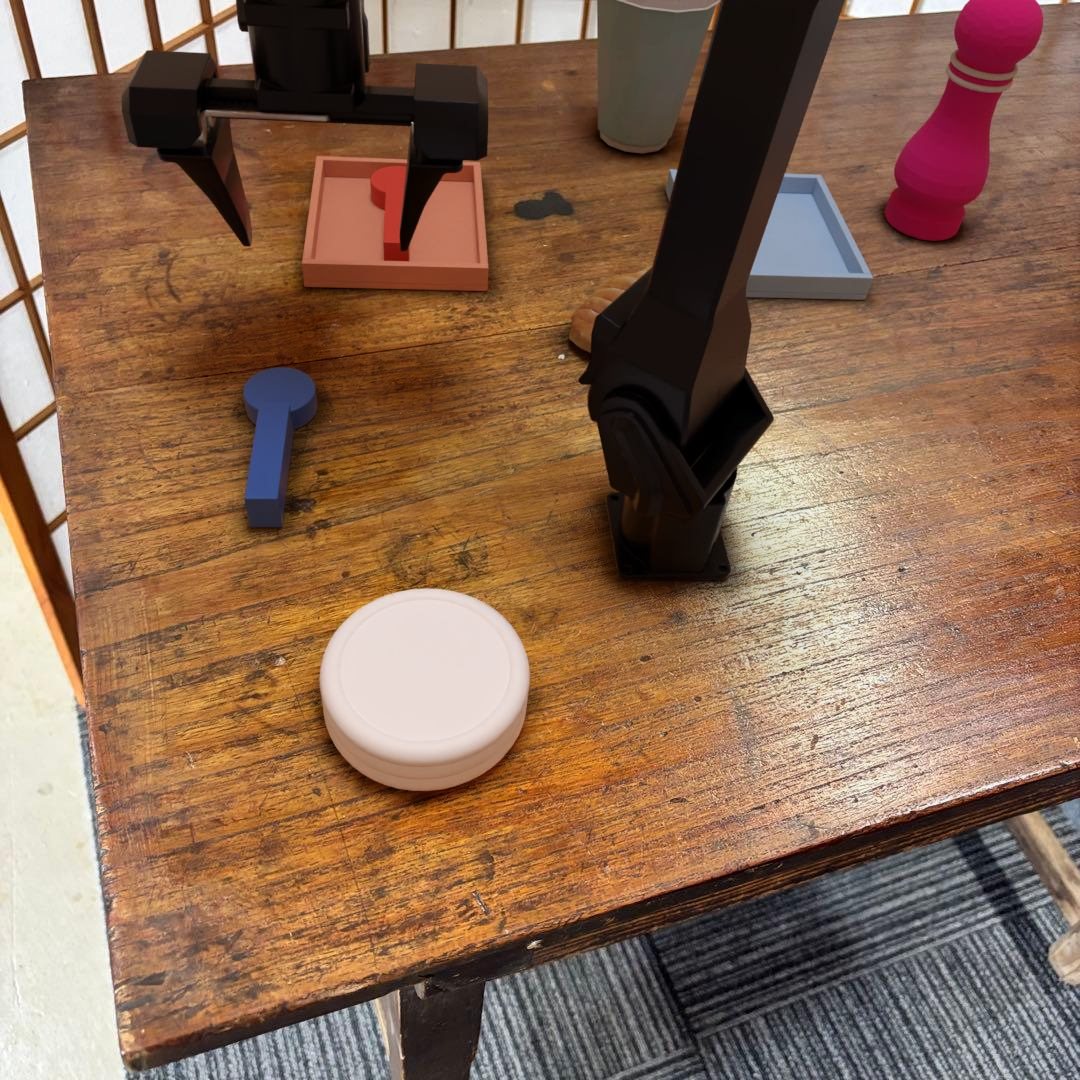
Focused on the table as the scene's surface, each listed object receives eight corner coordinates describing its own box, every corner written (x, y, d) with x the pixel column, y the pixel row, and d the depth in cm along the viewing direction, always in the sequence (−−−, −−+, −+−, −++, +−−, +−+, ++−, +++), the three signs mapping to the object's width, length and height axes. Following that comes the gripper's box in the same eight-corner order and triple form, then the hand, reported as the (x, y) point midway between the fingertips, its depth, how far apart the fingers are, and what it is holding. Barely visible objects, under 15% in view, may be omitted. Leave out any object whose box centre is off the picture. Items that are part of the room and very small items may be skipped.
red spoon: (427, 272, 75) (426, 243, 73) (366, 270, 74) (364, 241, 73) (426, 184, 83) (426, 157, 81) (371, 182, 83) (370, 154, 81)
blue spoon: (305, 527, 58) (301, 498, 56) (226, 527, 58) (219, 498, 56) (319, 386, 66) (316, 357, 64) (250, 385, 66) (245, 356, 64)
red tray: (487, 291, 75) (488, 267, 73) (304, 287, 73) (301, 263, 72) (479, 184, 85) (480, 161, 83) (318, 178, 83) (316, 155, 82)
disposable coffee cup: (560, 148, 90) (579, -36, 79) (594, 99, 97) (616, -77, 86) (677, 176, 88) (713, -8, 77) (702, 124, 95) (739, -52, 84)
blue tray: (865, 300, 78) (873, 277, 76) (697, 296, 76) (702, 273, 75) (814, 195, 88) (821, 174, 86) (665, 190, 86) (669, 168, 85)
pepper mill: (930, 254, 83) (1039, -6, 68) (861, 213, 87) (950, -42, 72) (980, 228, 86) (1094, -24, 72) (911, 190, 90) (1007, -58, 75)
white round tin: (472, 600, 56) (474, 558, 53) (561, 745, 50) (568, 707, 47) (295, 665, 52) (288, 623, 49) (369, 829, 46) (366, 792, 44)
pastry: (607, 380, 69) (615, 334, 66) (545, 330, 72) (549, 284, 69) (704, 334, 73) (715, 289, 70) (641, 289, 77) (649, 244, 74)
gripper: (488, -83, 56) (480, 182, 67) (136, -105, 54) (190, 171, 65) (493, -4, 48) (483, 279, 60) (84, -26, 46) (156, 269, 58)
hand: (326, 245), depth 61 cm, fingers open, 9 cm apart
